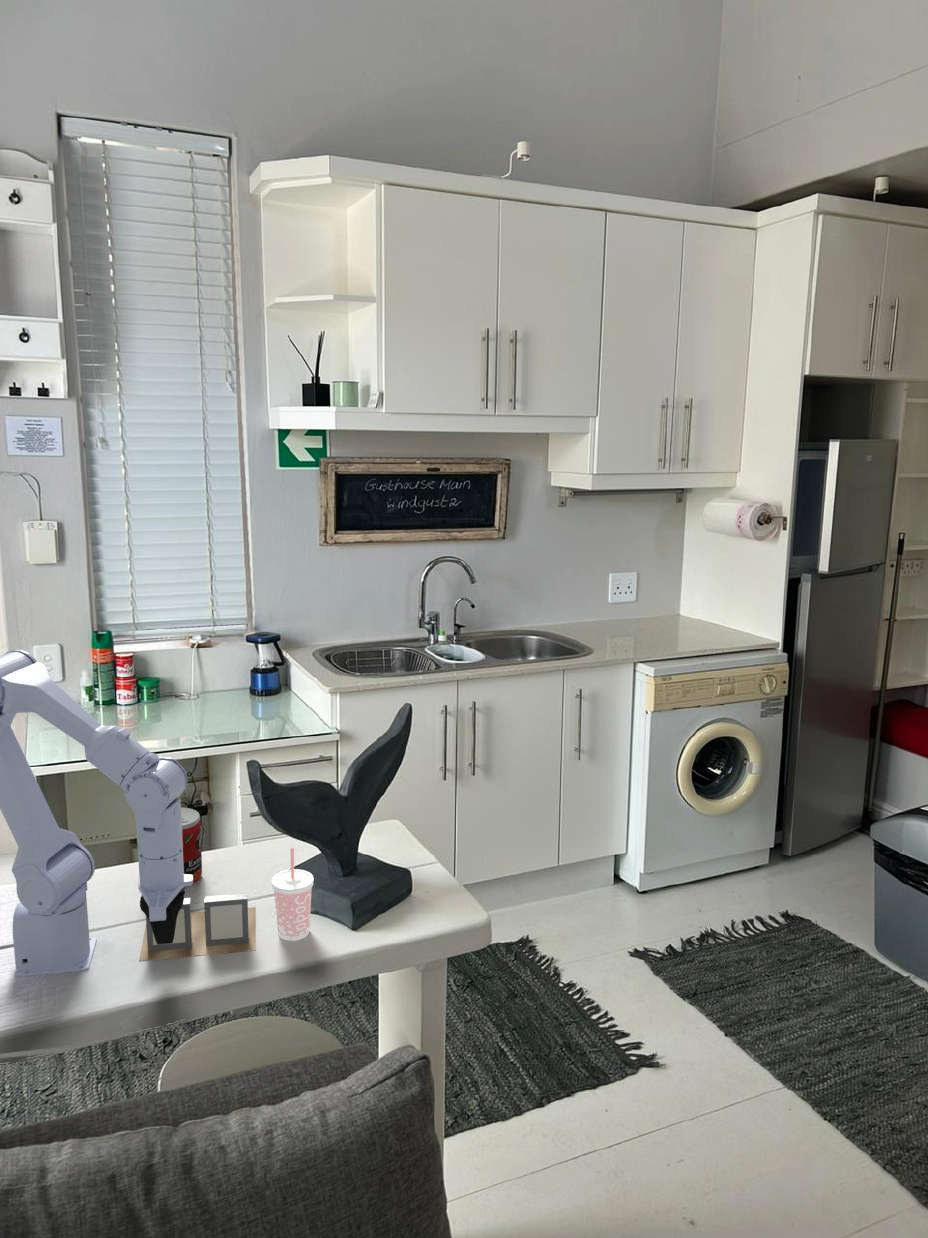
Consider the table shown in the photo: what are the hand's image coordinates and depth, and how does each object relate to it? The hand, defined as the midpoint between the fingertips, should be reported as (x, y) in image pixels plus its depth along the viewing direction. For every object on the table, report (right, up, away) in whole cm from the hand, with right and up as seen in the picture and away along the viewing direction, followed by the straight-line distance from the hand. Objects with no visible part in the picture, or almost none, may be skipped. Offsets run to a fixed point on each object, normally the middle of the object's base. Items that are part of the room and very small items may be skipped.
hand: (165, 941), depth 132 cm
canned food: (-6, +1, +27) cm, 27 cm away
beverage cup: (+16, -3, +11) cm, 20 cm away
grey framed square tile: (-1, -3, +7) cm, 8 cm away
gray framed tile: (+6, -3, +8) cm, 11 cm away
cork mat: (+2, -3, +10) cm, 11 cm away
